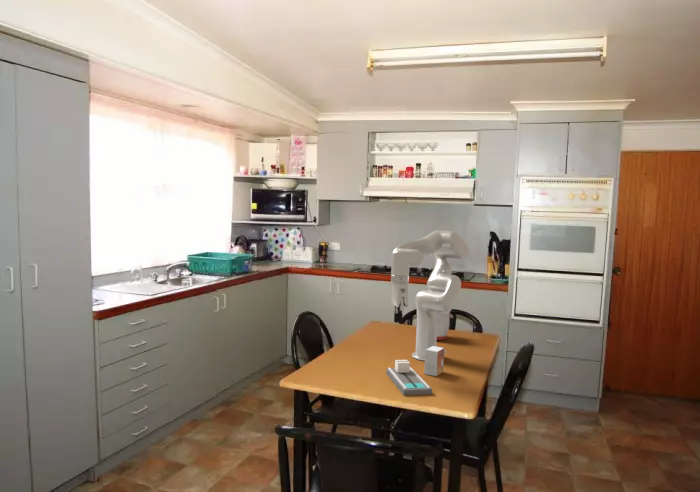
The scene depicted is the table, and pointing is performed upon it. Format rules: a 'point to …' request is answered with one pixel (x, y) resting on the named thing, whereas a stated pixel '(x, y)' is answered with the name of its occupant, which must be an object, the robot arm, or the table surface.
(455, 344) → the table surface
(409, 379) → the fader board
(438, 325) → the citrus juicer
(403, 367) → the fader knob
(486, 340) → the table surface
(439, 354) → the small box
